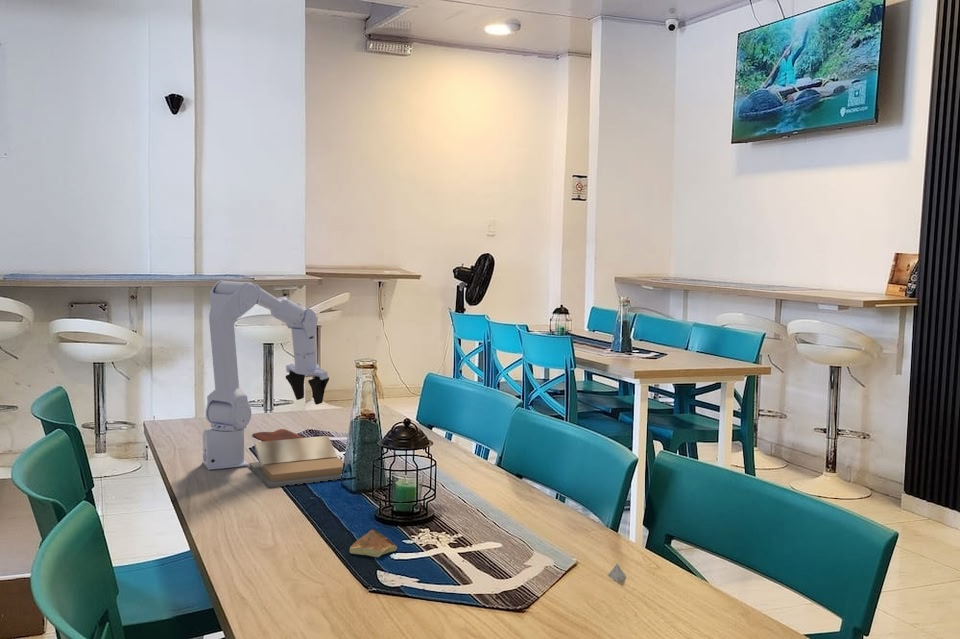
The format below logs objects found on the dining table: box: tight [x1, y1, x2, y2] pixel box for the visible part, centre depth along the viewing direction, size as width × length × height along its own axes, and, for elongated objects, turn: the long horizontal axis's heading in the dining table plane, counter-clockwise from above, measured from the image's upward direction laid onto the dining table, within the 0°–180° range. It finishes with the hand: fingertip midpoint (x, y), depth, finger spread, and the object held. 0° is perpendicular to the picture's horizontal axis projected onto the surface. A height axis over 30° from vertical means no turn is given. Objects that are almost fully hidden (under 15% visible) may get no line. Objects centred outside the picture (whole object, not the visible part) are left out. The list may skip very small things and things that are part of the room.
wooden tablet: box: [251, 428, 305, 442], centre depth 235 cm, size 27×10×2 cm, turn 39°
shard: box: [349, 528, 398, 558], centre depth 160 cm, size 11×8×2 cm
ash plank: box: [253, 435, 339, 469], centre depth 210 cm, size 18×8×2 cm, turn 118°
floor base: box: [248, 457, 344, 489], centre depth 207 cm, size 20×19×2 cm
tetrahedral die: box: [607, 563, 627, 583], centre depth 147 cm, size 4×3×3 cm
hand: (309, 401), depth 237 cm, fingers open, 7 cm apart
